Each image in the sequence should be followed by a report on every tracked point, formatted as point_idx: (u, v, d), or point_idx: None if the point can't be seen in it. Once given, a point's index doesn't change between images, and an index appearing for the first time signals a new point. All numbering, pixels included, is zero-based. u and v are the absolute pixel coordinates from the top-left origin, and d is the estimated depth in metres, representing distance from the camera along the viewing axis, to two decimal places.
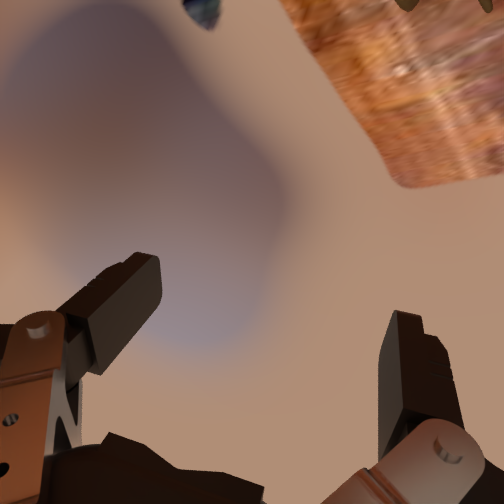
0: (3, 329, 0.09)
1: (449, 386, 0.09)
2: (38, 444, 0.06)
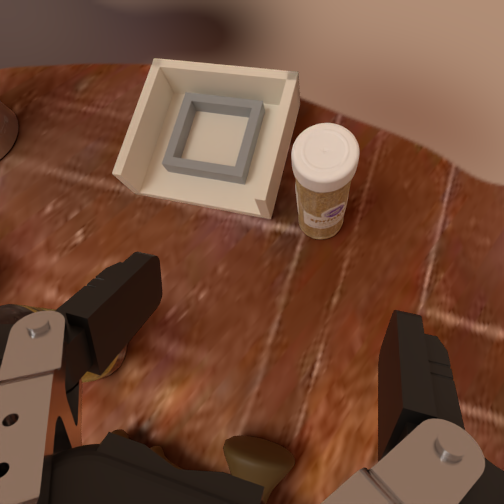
0: (3, 329, 0.09)
1: (449, 386, 0.09)
2: (38, 444, 0.06)
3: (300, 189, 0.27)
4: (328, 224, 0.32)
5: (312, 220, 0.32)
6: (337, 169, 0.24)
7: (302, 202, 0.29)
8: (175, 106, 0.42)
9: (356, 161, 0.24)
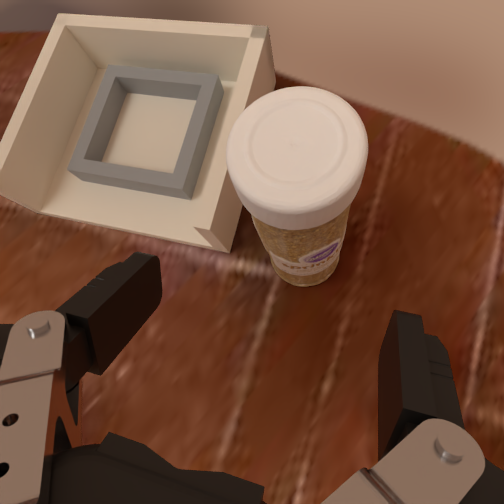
0: (3, 329, 0.09)
1: (449, 386, 0.09)
2: (38, 444, 0.06)
3: (255, 219, 0.15)
4: (313, 271, 0.19)
5: (285, 265, 0.19)
6: (320, 184, 0.11)
7: (264, 239, 0.16)
8: (98, 87, 0.30)
9: (362, 166, 0.11)
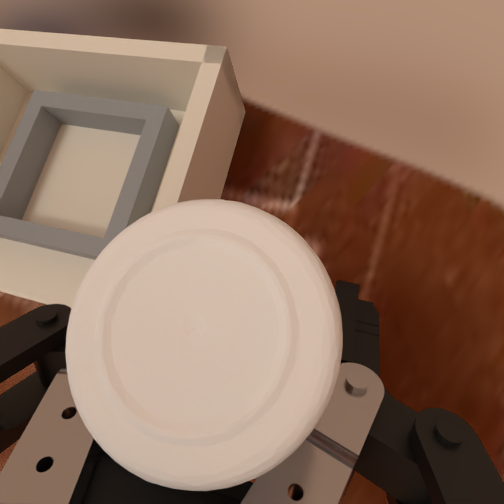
0: None
1: (373, 341, 0.10)
2: (84, 447, 0.06)
3: None
4: None
5: None
6: (237, 437, 0.05)
7: None
8: None
9: (328, 393, 0.05)
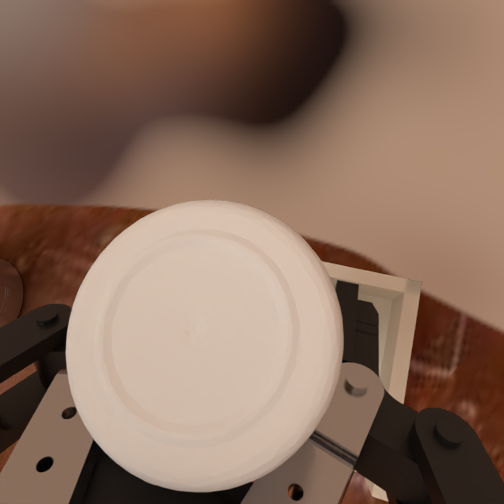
0: None
1: (373, 341, 0.10)
2: (84, 448, 0.06)
3: None
4: None
5: None
6: (238, 438, 0.05)
7: None
8: None
9: (329, 394, 0.05)
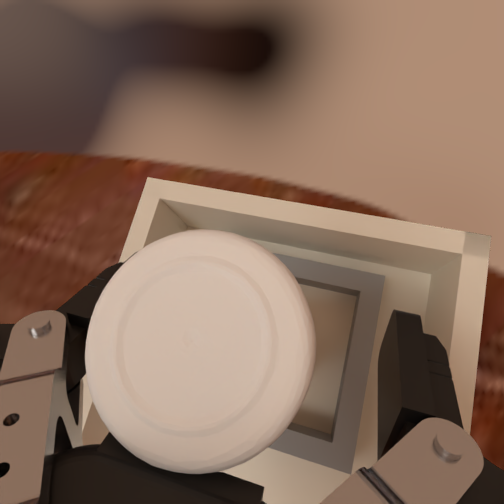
0: (5, 329, 0.09)
1: (448, 385, 0.09)
2: (39, 444, 0.06)
3: None
4: None
5: None
6: (225, 430, 0.06)
7: None
8: None
9: (301, 396, 0.06)
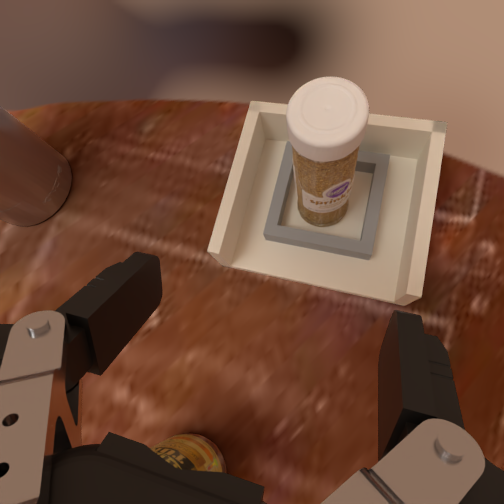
0: (3, 329, 0.09)
1: (449, 386, 0.09)
2: (38, 444, 0.06)
3: (297, 161, 0.23)
4: (330, 207, 0.28)
5: (311, 202, 0.27)
6: (341, 130, 0.19)
7: (300, 178, 0.25)
8: (268, 156, 0.35)
9: (365, 121, 0.19)
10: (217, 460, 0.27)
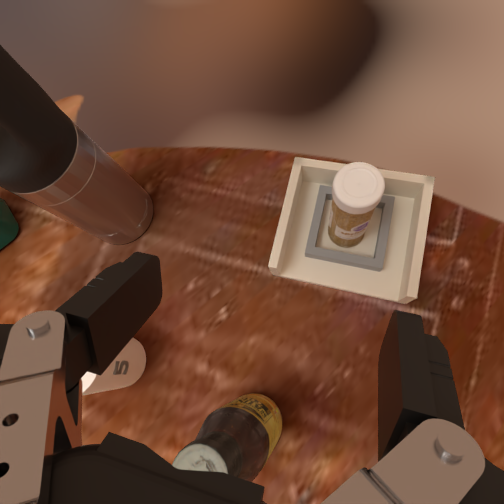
0: (3, 329, 0.09)
1: (449, 386, 0.09)
2: (38, 444, 0.06)
3: (336, 210, 0.35)
4: (354, 236, 0.40)
5: (342, 233, 0.40)
6: (368, 198, 0.32)
7: (336, 219, 0.37)
8: (305, 194, 0.47)
9: (382, 192, 0.32)
10: (277, 409, 0.39)
